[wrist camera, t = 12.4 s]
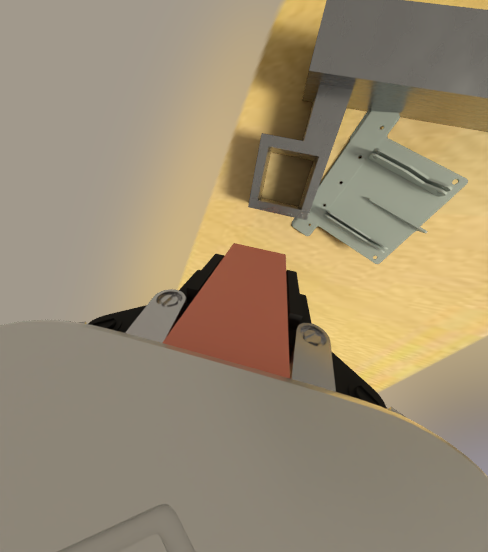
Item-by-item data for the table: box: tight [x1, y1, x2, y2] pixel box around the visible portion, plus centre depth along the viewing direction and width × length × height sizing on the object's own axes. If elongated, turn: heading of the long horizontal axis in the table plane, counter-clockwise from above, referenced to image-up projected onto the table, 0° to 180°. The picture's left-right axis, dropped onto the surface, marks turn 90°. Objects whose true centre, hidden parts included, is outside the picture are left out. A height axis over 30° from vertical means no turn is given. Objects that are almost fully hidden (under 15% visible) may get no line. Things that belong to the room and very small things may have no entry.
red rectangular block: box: [163, 243, 290, 378], centre depth 8 cm, size 4×4×10 cm
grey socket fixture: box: [248, 0, 488, 220], centre depth 18 cm, size 16×25×6 cm, turn 80°
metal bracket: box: [292, 111, 468, 264], centre depth 22 cm, size 14×6×15 cm
